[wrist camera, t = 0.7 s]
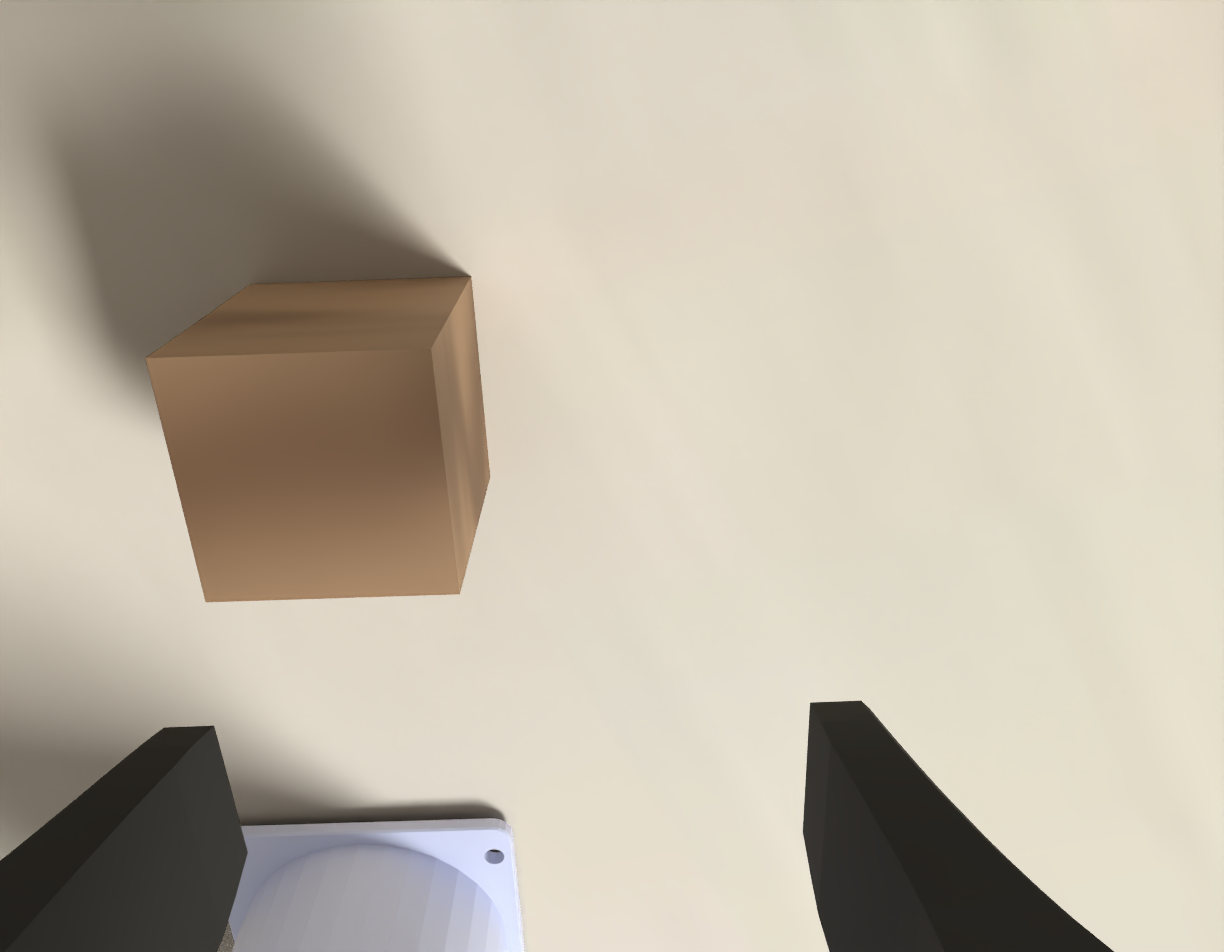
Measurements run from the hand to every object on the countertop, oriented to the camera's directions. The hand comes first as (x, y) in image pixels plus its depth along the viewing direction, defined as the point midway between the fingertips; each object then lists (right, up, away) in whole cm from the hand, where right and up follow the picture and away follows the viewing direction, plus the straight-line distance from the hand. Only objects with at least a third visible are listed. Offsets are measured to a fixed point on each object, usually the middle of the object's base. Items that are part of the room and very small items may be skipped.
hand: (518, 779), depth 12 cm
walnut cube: (-4, +6, +9) cm, 11 cm away
